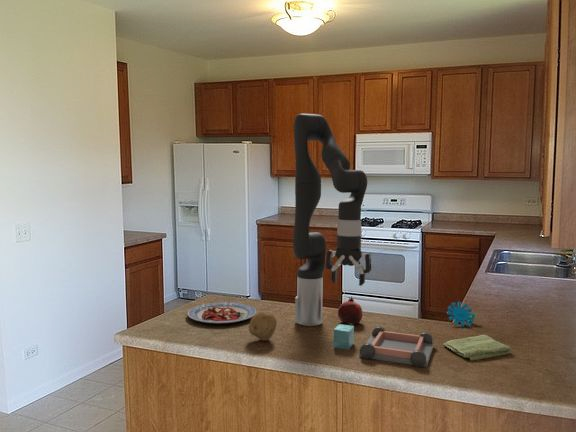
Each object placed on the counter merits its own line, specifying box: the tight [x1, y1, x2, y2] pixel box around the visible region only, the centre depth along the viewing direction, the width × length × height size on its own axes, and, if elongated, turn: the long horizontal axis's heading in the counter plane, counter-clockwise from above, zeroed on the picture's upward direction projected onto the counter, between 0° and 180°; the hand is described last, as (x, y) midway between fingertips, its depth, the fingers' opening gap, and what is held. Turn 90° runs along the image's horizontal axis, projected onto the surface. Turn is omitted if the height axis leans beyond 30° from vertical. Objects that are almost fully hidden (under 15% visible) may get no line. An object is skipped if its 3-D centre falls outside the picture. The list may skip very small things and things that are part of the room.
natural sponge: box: [248, 310, 278, 342], centre depth 171 cm, size 9×9×10 cm
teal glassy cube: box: [333, 323, 355, 351], centre depth 167 cm, size 5×6×6 cm
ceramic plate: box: [187, 301, 257, 325], centre depth 197 cm, size 26×26×3 cm
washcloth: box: [442, 334, 512, 361], centre depth 164 cm, size 13×18×3 cm
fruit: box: [337, 295, 363, 326], centre depth 189 cm, size 9×10×10 cm
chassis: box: [358, 325, 434, 368], centre depth 162 cm, size 20×19×4 cm
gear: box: [446, 301, 478, 328], centre depth 191 cm, size 11×6×10 cm
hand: (348, 283), depth 165 cm, fingers open, 8 cm apart
